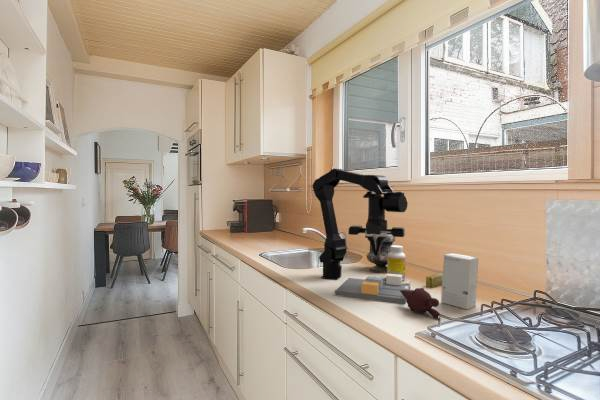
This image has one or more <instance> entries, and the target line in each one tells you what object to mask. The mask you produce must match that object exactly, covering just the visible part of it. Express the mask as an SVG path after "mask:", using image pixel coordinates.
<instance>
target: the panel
mask: <svg viewBox="0 0 600 400" xmlns="http://www.w3.org/2000/svg"><path fill="white" fill-rule="evenodd" d="M363 281H366V278H365V279H362V278H353V277H348V278H347V279H346V280H345V281H344V282H343V283H342V284H340V286H338V287H337V289H335V290H334V296H339V297H346V298H354V299H355V298H356V299H362V300H369V301H378V302H387V303H393V304H394V303H395V304H404V305H406V304H407V302H406V301H407V300H406V298H405V297H404V296H403V295H402V293H401V292H400V290H411V281H410V280H407V281H406V283H403V282H402V285H401V286H399V285H389V284H386V281H383V280H382V288H381V289H379V293H378V295H372V294H364V293H361V284H362V282H363Z"/></svg>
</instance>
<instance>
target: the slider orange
mask: <svg viewBox="0 0 600 400" xmlns="http://www.w3.org/2000/svg"><path fill="white" fill-rule="evenodd" d="M361 293H364V294H372V295H378V293H379V283H376V282H367V281H363V282H362V284H361Z"/></svg>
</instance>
